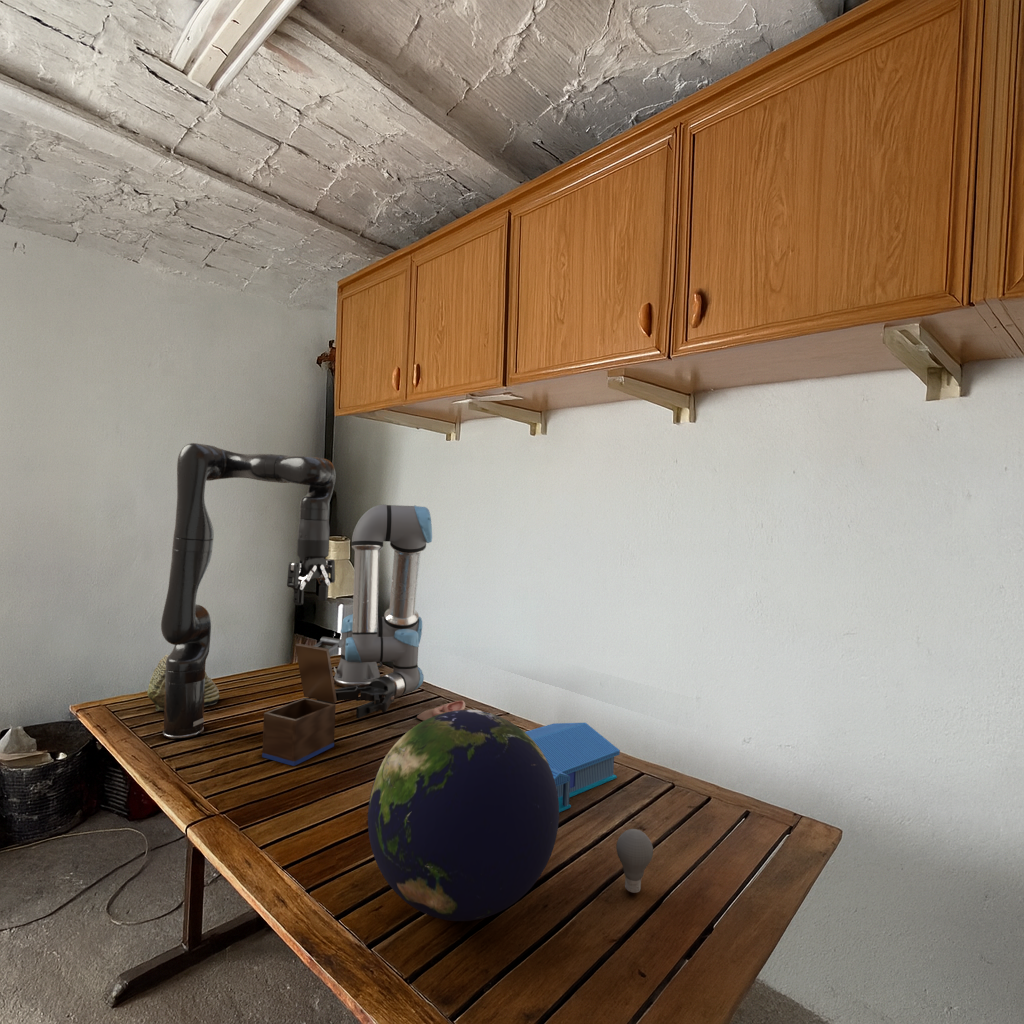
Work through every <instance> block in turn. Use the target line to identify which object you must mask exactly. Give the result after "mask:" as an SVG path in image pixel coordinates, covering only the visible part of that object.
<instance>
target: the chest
mask: <svg viewBox="0 0 1024 1024" xmlns="http://www.w3.org/2000/svg"><path fill="white" fill-rule="evenodd" d="M336 707H337V706H336V703H333V704H331V703H326V702H322V701H317V699H313V698H309V697H303V698H301V699H298V700H295V701H293V702H290V703H287V704H284V705H282V706H279V707H276V708H274V709H271V710H268V711H266V712H263V721H262V722H263V724H262V725H263V727H262V750H261V751H262V752H261V753H262V754H261V757H262V758H264V759H267V760H271V761H275V762H278V763H281V764H285V765H289V766H293V767H295V766H297V765H299V764H302V763H303V762H306V761H307V760H309V759H311V758H312V759H313V757H315V756H318V755H319V754H322V753H324V752H325V751H328V750H330V749H332V748H334V747H335V733H336V732H335V731H336Z"/></svg>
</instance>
